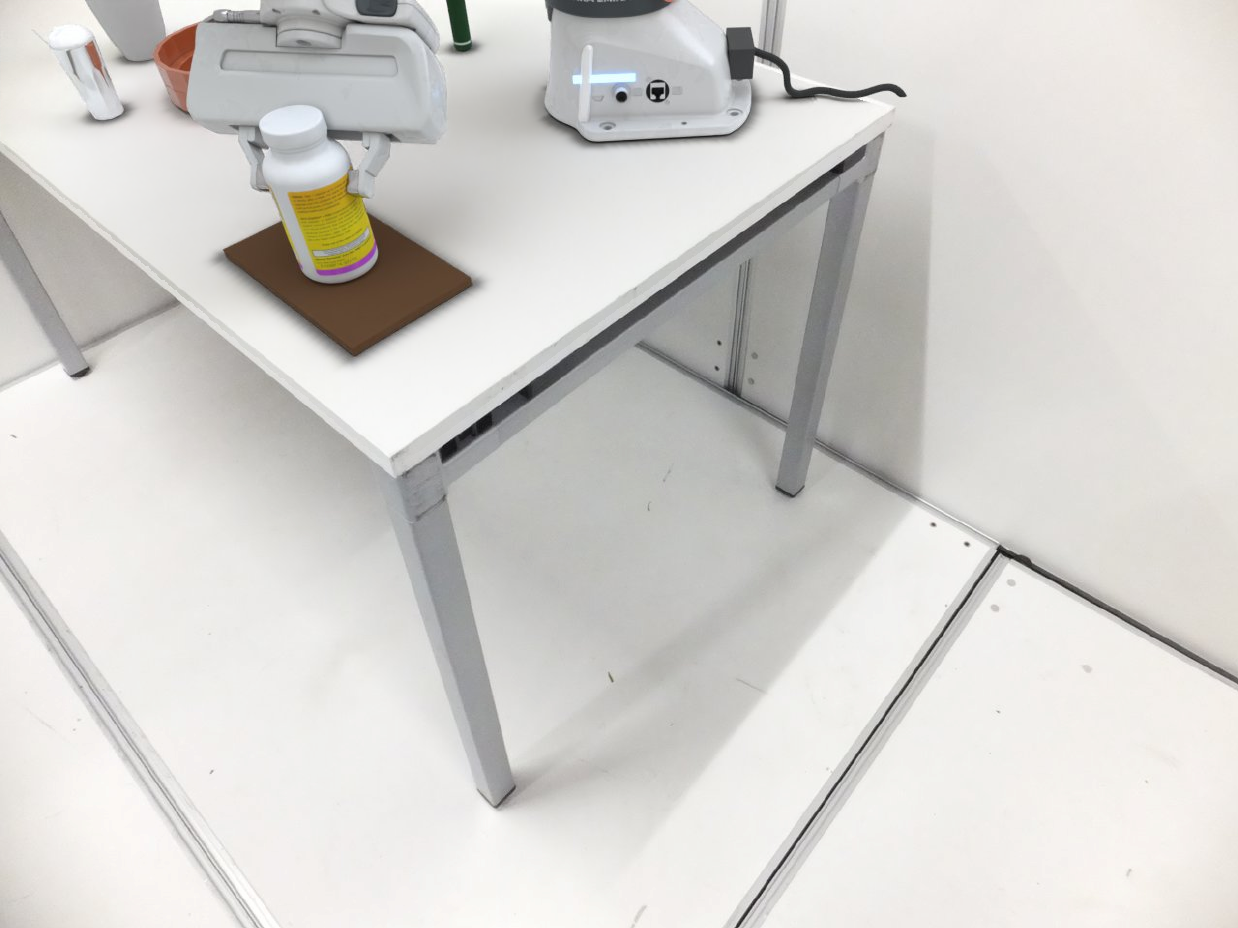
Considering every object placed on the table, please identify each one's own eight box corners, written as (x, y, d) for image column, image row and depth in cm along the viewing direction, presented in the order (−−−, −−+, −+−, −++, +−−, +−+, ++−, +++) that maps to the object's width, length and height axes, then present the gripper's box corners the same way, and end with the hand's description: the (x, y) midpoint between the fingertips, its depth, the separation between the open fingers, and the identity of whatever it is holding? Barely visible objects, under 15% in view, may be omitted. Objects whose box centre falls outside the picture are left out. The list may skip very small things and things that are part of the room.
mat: (472, 285, 70) (471, 277, 69) (354, 356, 64) (351, 348, 64) (339, 200, 79) (336, 193, 79) (226, 257, 74) (222, 249, 73)
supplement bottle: (396, 255, 72) (355, 111, 62) (339, 296, 68) (286, 150, 58) (342, 233, 74) (294, 90, 64) (285, 271, 71) (225, 127, 61)
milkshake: (72, 120, 92) (19, 25, 84) (114, 100, 95) (67, 7, 87) (96, 130, 90) (44, 34, 83) (138, 110, 93) (92, 15, 85)
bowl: (335, 58, 100) (322, 14, 96) (281, 122, 90) (264, 76, 86) (213, 54, 102) (196, 11, 98) (146, 117, 92) (124, 71, 88)
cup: (191, 39, 106) (155, -49, 98) (162, 67, 100) (122, -24, 93) (131, 38, 106) (91, -49, 99) (99, 66, 101) (54, -24, 93)
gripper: (172, -11, 62) (164, 175, 64) (432, -4, 60) (419, 190, 61) (222, 27, 69) (214, 196, 70) (459, 35, 66) (447, 210, 67)
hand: (312, 193), depth 65 cm, fingers closed on supplement bottle, 6 cm apart
